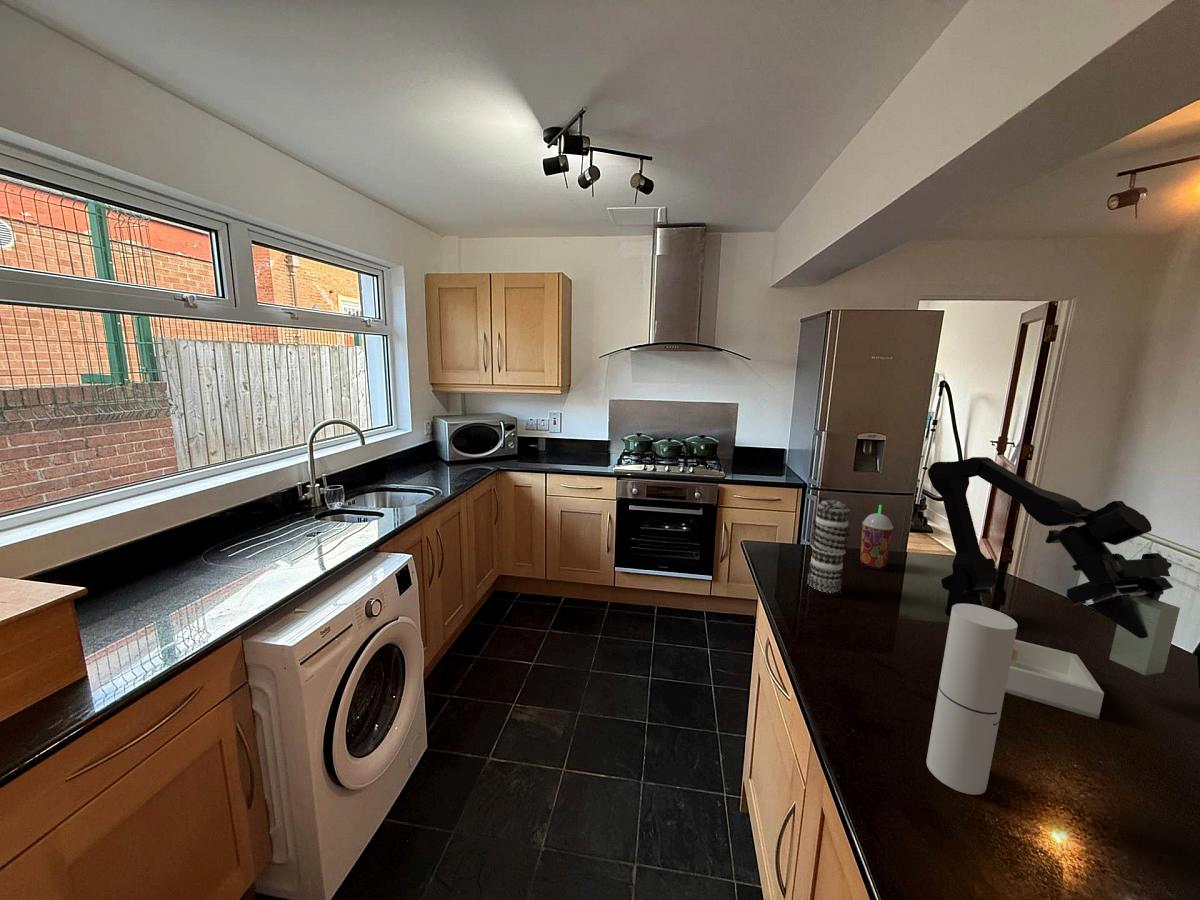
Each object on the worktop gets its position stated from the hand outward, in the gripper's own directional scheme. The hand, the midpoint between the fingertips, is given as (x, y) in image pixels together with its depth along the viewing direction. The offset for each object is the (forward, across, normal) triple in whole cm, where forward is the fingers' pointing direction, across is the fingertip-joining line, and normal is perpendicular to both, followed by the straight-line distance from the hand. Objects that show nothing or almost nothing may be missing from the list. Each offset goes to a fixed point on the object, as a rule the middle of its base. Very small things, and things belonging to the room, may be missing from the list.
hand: (1154, 636), depth 85 cm
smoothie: (-35, +1, +55) cm, 65 cm away
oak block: (-1, -15, +19) cm, 24 cm away
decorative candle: (-27, -26, +46) cm, 59 cm away
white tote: (+3, -14, +16) cm, 22 cm away
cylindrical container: (+14, -50, +6) cm, 52 cm away
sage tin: (+4, 0, +6) cm, 7 cm away
